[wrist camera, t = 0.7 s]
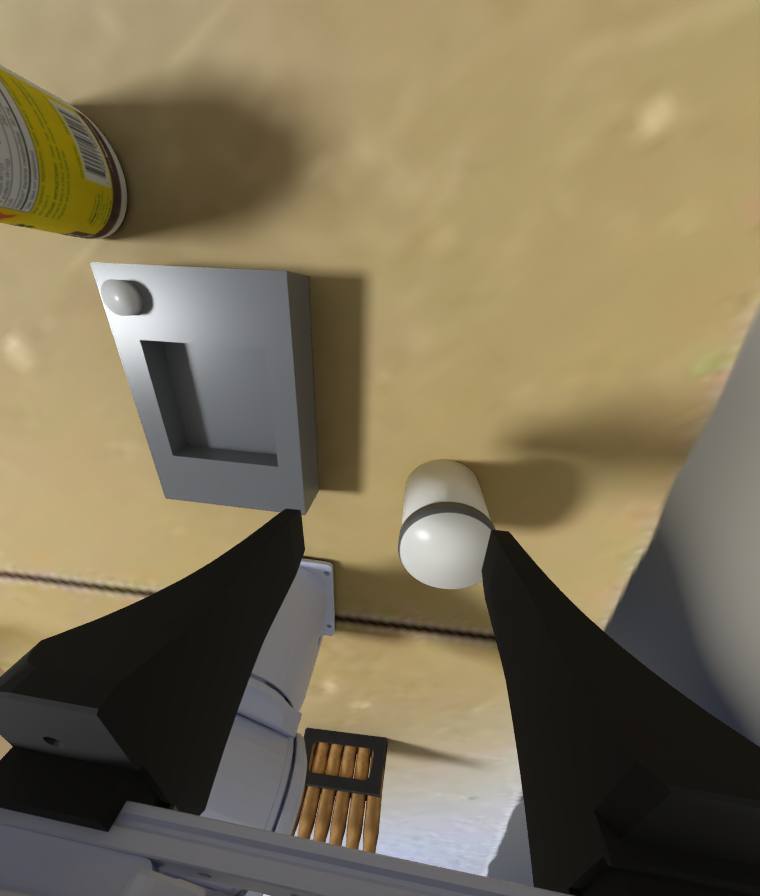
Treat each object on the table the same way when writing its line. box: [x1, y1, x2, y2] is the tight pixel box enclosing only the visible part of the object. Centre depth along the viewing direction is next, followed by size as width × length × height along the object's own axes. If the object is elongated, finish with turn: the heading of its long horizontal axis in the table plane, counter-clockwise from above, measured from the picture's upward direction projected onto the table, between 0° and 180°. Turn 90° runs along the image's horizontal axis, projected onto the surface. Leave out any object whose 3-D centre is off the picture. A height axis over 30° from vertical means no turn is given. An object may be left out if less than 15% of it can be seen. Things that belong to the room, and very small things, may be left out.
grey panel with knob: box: [90, 262, 319, 515], centre depth 18 cm, size 14×10×4 cm
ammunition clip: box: [291, 728, 388, 853], centre depth 34 cm, size 11×2×12 cm, turn 94°
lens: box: [398, 459, 496, 589], centre depth 19 cm, size 5×5×6 cm
